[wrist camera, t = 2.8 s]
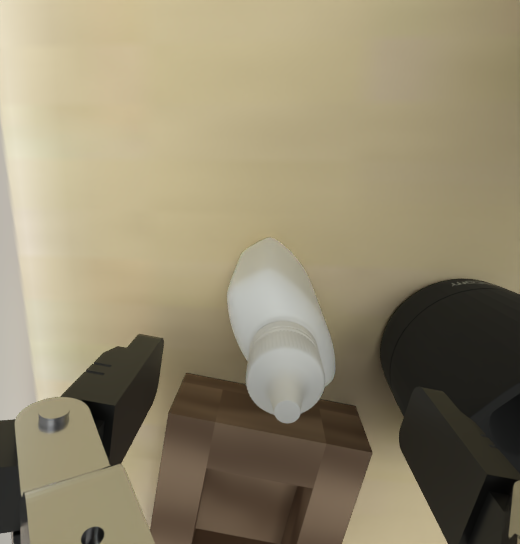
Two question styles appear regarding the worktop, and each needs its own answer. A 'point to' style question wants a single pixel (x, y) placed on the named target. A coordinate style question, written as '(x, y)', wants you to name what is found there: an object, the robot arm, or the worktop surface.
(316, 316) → the eye dropper bottle
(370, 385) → the worktop surface
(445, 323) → the pen holder
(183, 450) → the recessed rectangular tray
